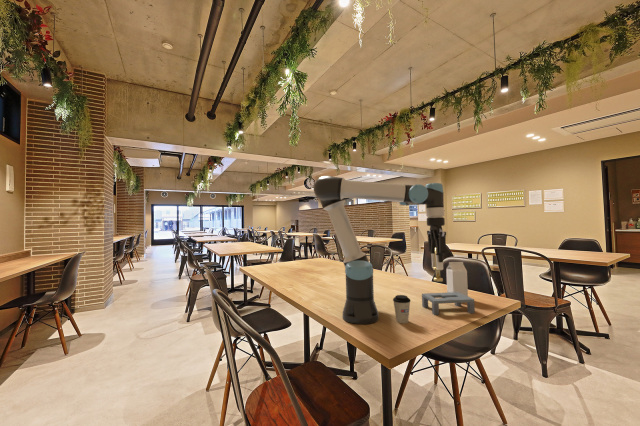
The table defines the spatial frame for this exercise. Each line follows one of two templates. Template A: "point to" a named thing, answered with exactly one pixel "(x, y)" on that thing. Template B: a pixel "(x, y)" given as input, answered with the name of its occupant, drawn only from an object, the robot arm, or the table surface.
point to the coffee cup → (401, 308)
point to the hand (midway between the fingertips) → (437, 268)
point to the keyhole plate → (447, 300)
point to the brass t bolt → (437, 271)
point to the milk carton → (457, 278)
